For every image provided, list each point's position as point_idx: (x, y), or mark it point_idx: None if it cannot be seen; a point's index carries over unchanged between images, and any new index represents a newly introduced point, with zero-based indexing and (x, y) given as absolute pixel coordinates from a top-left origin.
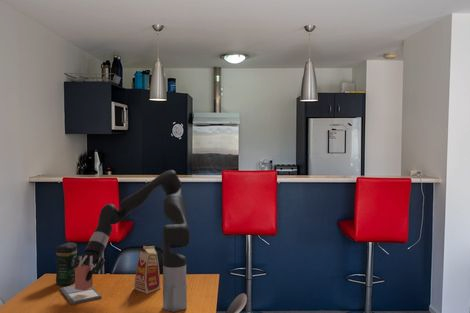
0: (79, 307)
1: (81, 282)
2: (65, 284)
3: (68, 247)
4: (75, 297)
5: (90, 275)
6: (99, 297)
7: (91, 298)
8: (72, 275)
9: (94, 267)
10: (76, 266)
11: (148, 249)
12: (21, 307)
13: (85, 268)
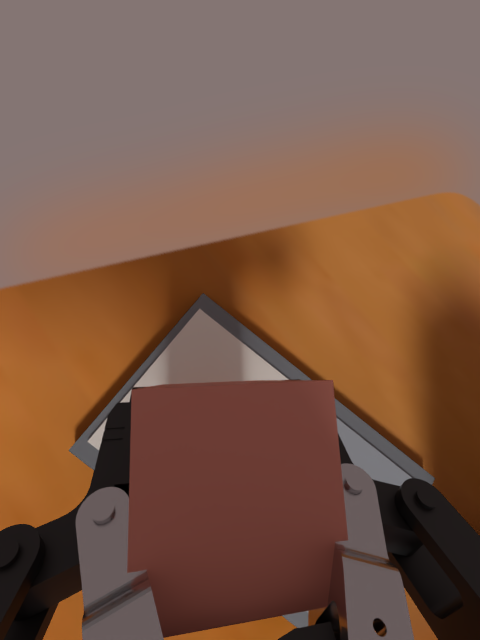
0: (131, 274)
1: (201, 383)
2: None
3: None
4: (227, 360)
5: (102, 443)
6: (81, 436)
7: (120, 391)
8: None
9: (27, 573)
10: (406, 524)
11: None
12: (409, 210)
13: (154, 427)
